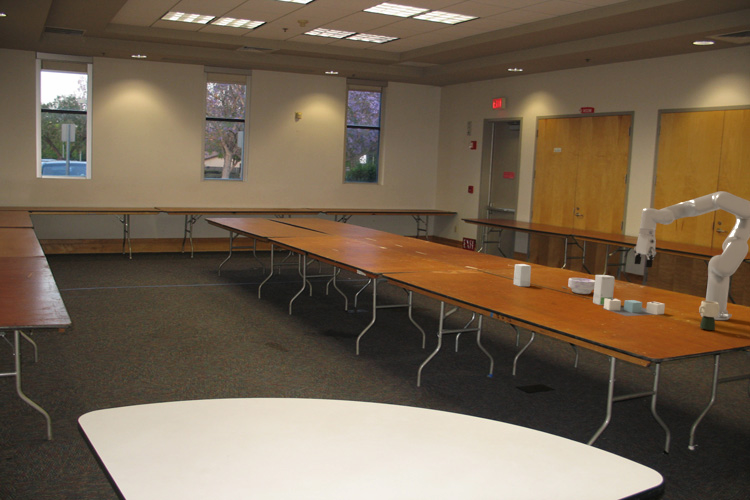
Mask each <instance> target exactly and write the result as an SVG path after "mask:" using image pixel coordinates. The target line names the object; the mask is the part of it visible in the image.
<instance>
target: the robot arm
mask: <svg viewBox="0 0 750 500" xmlns="http://www.w3.org/2000/svg"><path fill="white" fill-rule="evenodd" d="M718 210H723V211H725V212H727V213H730V214H732V215H734V217H735V224H734V225H733V227H732V229H731V231H730V233H729V234H728V235H727V237H726V238H725V240H724V241H723V242H722V246H721V247H722V253H721V254H717V255H714V256H712V257H711V258H710V260H709V262H708V267H707V276H708V277H707V288H706V295H705V301H713V302H717V303H719V306H720V309H719V312H718V315H717V317H714V319H715V321H728V320H730V318H731V317H732V313H729V310H728V309H727V306H728V305H727V304H728V297H729V289H730V277H731V276H732V275H733V274H735V273H736V271H737V270H738V268H739V267H740V265H741V263H742V262H743V261H744V259H745V258H746V256H747V255H748V252H749V244H748V240H750V200H748V199H745V198H743V197H740V196H737V195H735V194H732V193H730V192H728V191H724V190H723V191H722V190H721V191H716V192H713V193H709V194H707V195H706V194H705V195H703V196H699V197H696V198H693V199H690V200H686V201H683V202H679V203H676V204H673V205H670V206H666V207H663V208H660V209H656V208H651V207H644V208H642V210H641V216H640V225H639V232H638V237H637V241H636V245H635V246H634V247H633V249H634V251H633V252H634V256H635V257H634V265H641V262H642V255H643V256H646V260H645V268H650V269H651V268H652V267H653V261H654V259H655V257H656V255H657V251H656V245H657V242H656V230H657V224H662V225H665V226H667V225H670V224H672V223H674V221H675V220H678V219H683V218H688V217H689V218H691V217H698V216H702V215H704V214H708V213H711V212H712V213H713V212H714V211H718ZM700 316H701V318H702V317H703V315H701V314H700Z"/></svg>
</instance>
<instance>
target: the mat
mask: <svg viewBox="0 0 750 500" xmlns="http://www.w3.org/2000/svg"><path fill="white" fill-rule="evenodd" d="M602 309H603V310H606V311H609V312H613V313H615V314H618V315H621V316H625V317H631V316H633V317H634V316H636V317H637V316H638V317H639V316H651V315H653V316H655V315H656V314H652V313H648V312H646V307H642V311H641V312H634V313H632V312H629V311H625V310H624V306H621V307H620V310H607V309H605V308H604V307H602Z"/></svg>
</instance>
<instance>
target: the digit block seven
mask: <svg viewBox="0 0 750 500" xmlns="http://www.w3.org/2000/svg"><path fill="white" fill-rule="evenodd" d="M621 303H622V301H621V300H620V299H618V298H614V297H613V298H605V299H604V305H603V308H605V309H604V310H606V309H607V310H606V311H609V310H620V307H622V304H621Z"/></svg>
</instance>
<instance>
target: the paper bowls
mask: <svg viewBox="0 0 750 500" xmlns="http://www.w3.org/2000/svg"><path fill="white" fill-rule="evenodd" d="M567 286H568V288H570V289H571V291H572V293H574V294H578V295H589V294H591V293H592V291H594V286H595V279H591V278H590V279H589V278H585V277H583V278H582V277H569V278H568V285H567Z"/></svg>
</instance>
